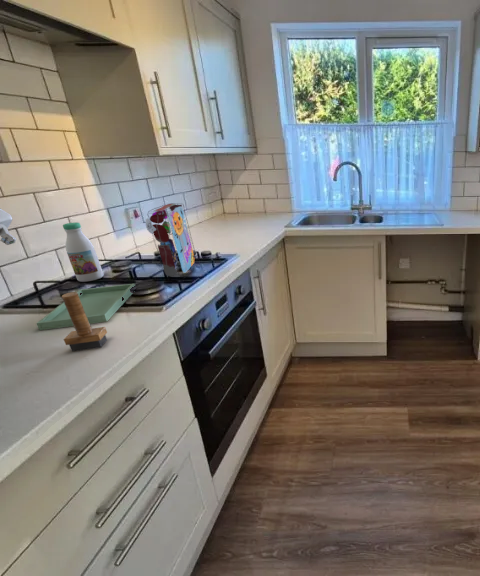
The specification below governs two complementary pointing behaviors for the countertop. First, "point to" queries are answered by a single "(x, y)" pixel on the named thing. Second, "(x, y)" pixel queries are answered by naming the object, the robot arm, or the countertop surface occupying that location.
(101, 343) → the stamp
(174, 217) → the box
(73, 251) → the milk bottle
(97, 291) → the tray
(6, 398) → the countertop surface
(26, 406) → the countertop surface
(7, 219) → the robot arm
